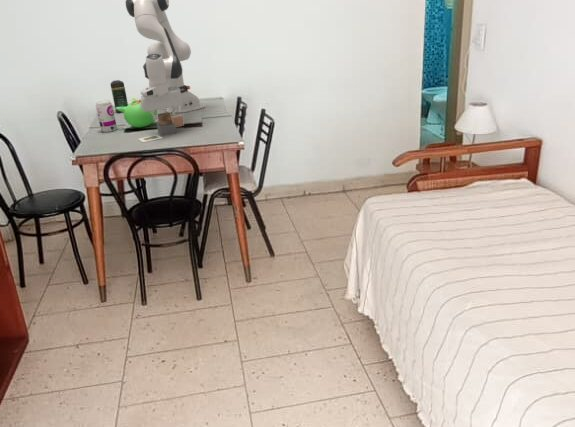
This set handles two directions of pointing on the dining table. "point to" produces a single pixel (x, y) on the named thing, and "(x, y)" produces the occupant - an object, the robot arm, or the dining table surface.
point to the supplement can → (106, 116)
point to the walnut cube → (164, 119)
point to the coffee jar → (119, 94)
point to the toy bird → (137, 114)
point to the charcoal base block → (166, 129)
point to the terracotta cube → (177, 120)
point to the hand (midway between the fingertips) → (164, 117)
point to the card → (150, 138)
